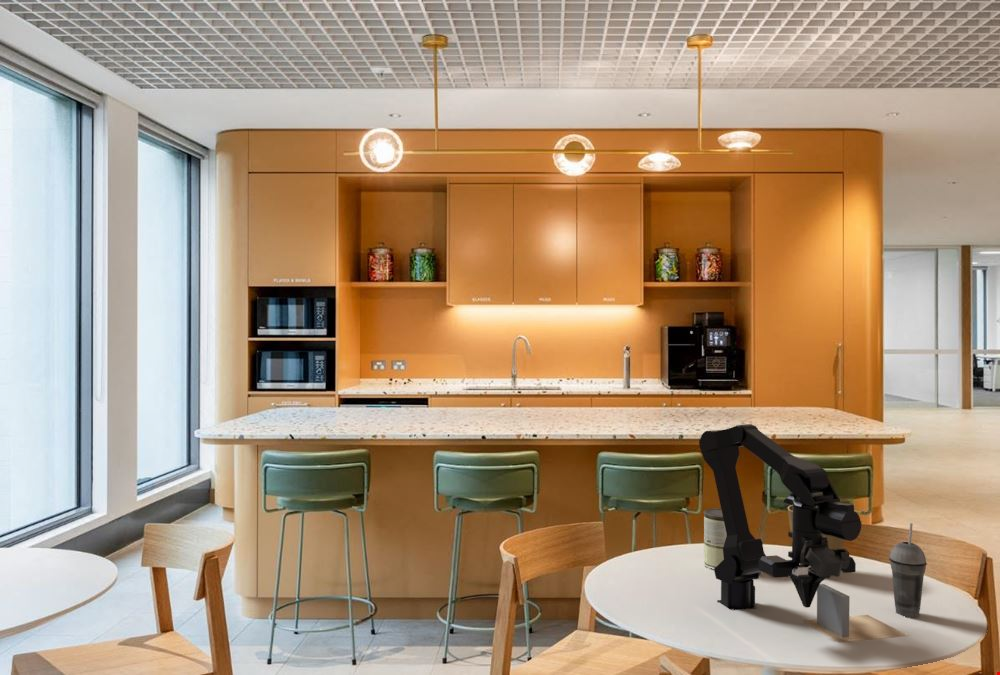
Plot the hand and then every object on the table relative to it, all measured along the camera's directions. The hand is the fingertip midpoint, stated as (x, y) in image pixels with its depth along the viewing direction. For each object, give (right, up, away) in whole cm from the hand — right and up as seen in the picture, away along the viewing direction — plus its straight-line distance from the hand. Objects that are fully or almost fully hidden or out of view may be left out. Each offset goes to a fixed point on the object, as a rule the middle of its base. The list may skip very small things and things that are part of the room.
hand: (806, 606), depth 159 cm
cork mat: (+11, -6, +2) cm, 12 cm away
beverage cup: (+27, -6, +13) cm, 30 cm away
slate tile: (+6, -5, +1) cm, 8 cm away
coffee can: (-3, -6, +47) cm, 48 cm away
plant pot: (+19, -6, +43) cm, 47 cm away
